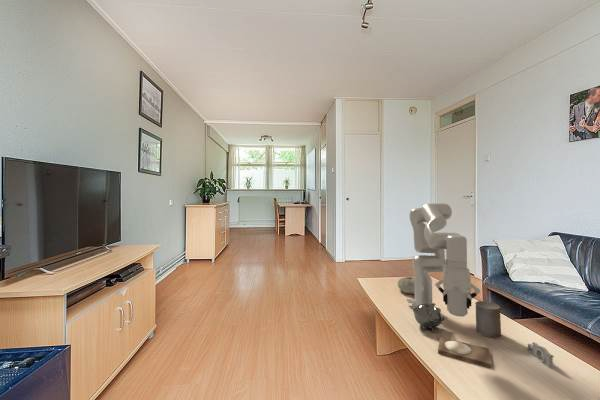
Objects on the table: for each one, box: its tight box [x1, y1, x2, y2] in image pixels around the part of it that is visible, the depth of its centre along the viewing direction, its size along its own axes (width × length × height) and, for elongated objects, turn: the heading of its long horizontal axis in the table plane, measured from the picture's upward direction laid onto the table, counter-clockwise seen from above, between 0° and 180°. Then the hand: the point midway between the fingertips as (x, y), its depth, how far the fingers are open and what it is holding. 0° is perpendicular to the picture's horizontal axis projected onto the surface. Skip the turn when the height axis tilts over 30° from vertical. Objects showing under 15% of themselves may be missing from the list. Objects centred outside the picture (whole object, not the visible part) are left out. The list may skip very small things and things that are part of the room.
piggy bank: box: [412, 302, 445, 331], centre depth 129 cm, size 11×15×12 cm
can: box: [446, 287, 469, 318], centre depth 108 cm, size 8×8×12 cm
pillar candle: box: [475, 300, 502, 339], centre depth 123 cm, size 10×10×15 cm
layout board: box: [437, 336, 492, 368], centre depth 107 cm, size 18×12×2 cm, turn 57°
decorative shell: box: [397, 276, 415, 295], centre depth 179 cm, size 18×18×10 cm
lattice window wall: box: [527, 341, 554, 369], centre depth 102 cm, size 12×2×6 cm, turn 170°
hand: (457, 305), depth 108 cm, fingers closed on can, 7 cm apart
